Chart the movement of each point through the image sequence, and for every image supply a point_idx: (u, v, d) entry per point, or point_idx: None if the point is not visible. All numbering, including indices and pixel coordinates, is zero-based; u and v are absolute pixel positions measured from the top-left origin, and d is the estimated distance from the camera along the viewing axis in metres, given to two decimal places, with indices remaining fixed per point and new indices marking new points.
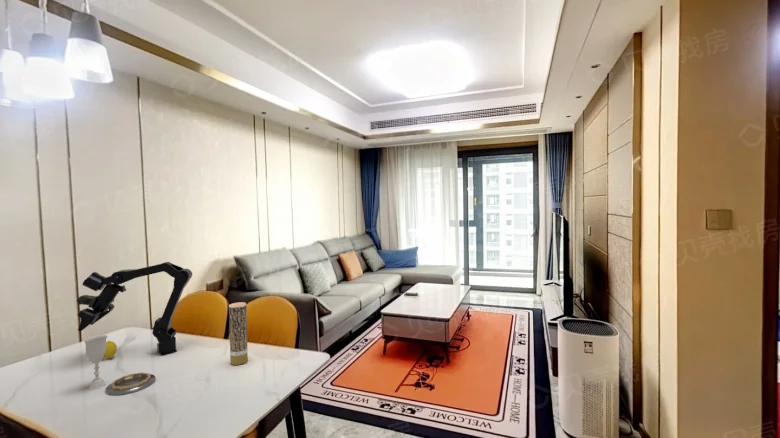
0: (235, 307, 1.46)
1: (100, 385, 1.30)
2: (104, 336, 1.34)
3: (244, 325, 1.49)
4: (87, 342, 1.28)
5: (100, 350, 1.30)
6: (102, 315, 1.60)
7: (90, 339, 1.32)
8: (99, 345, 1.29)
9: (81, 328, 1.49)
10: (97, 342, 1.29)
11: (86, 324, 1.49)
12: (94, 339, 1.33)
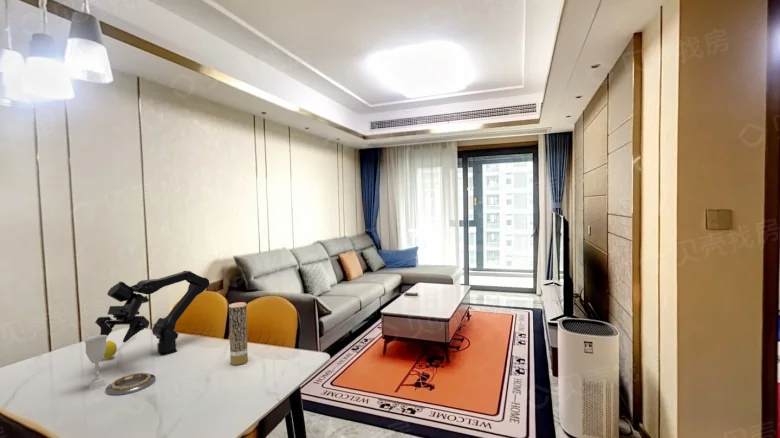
0: (235, 307, 1.46)
1: (100, 385, 1.30)
2: (104, 336, 1.34)
3: (244, 325, 1.49)
4: (87, 342, 1.28)
5: (100, 350, 1.30)
6: (109, 331, 1.44)
7: (90, 339, 1.32)
8: (99, 345, 1.29)
9: (127, 338, 1.40)
10: (98, 342, 1.29)
11: (133, 333, 1.42)
12: (94, 339, 1.33)
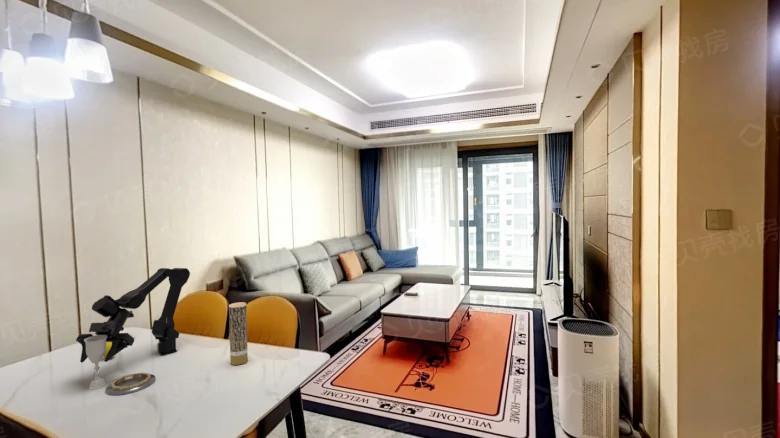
0: (235, 307, 1.46)
1: (100, 385, 1.30)
2: (104, 336, 1.34)
3: (244, 325, 1.49)
4: (87, 342, 1.28)
5: (100, 350, 1.30)
6: None
7: (90, 339, 1.32)
8: (99, 345, 1.29)
9: (109, 357, 1.31)
10: (98, 342, 1.29)
11: (116, 352, 1.33)
12: (94, 339, 1.33)
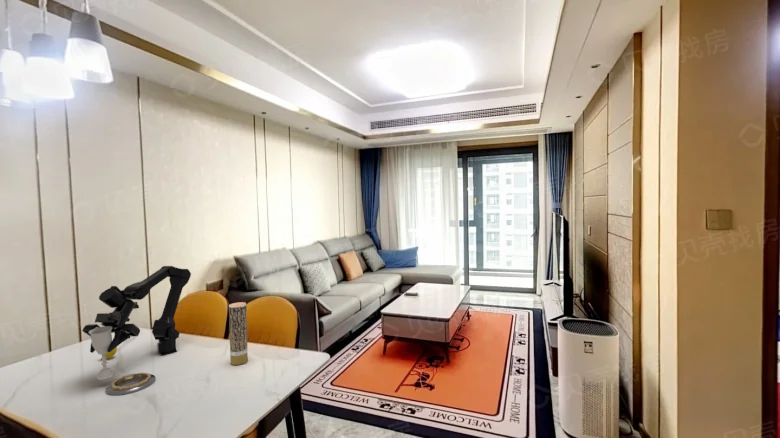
0: (235, 307, 1.46)
1: (108, 375, 1.31)
2: (109, 327, 1.33)
3: (244, 325, 1.49)
4: (92, 334, 1.28)
5: (105, 342, 1.29)
6: None
7: (95, 330, 1.32)
8: (104, 337, 1.29)
9: (112, 348, 1.31)
10: (102, 334, 1.29)
11: (119, 342, 1.33)
12: (100, 330, 1.33)
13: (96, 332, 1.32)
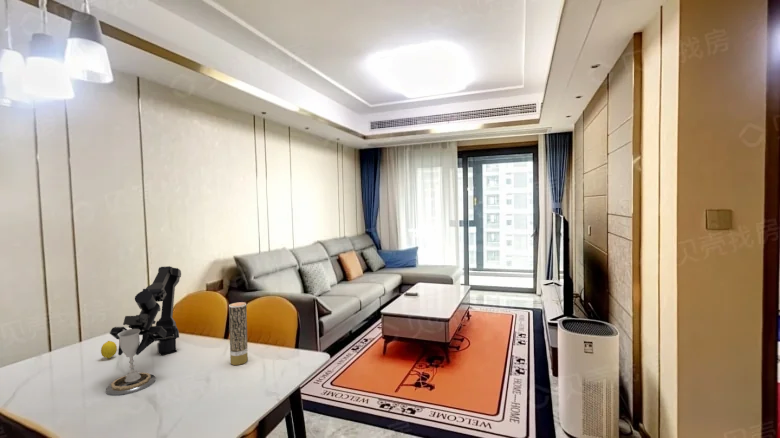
0: (235, 307, 1.46)
1: (136, 378, 1.31)
2: (137, 330, 1.34)
3: (244, 325, 1.49)
4: (121, 337, 1.28)
5: (134, 344, 1.29)
6: None
7: (123, 333, 1.32)
8: (133, 340, 1.29)
9: (140, 350, 1.31)
10: (131, 337, 1.29)
11: (146, 345, 1.34)
12: (127, 333, 1.33)
13: (124, 335, 1.32)
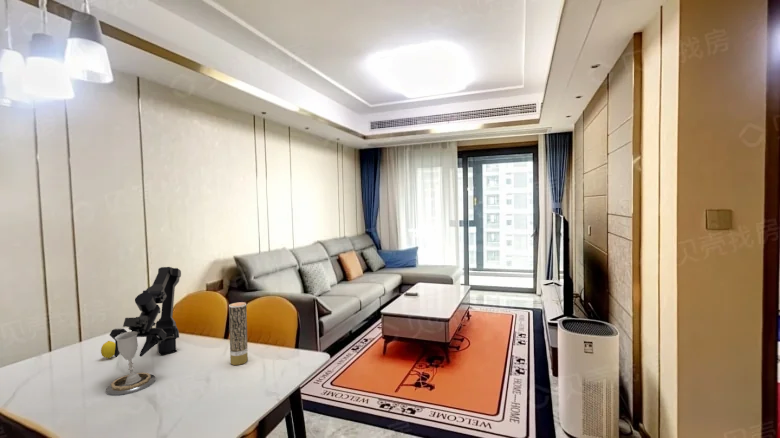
0: (235, 307, 1.46)
1: (136, 380, 1.31)
2: (134, 333, 1.33)
3: (244, 325, 1.49)
4: (118, 340, 1.27)
5: (132, 347, 1.29)
6: None
7: (121, 336, 1.32)
8: (130, 342, 1.29)
9: (144, 352, 1.31)
10: (128, 340, 1.29)
11: (150, 346, 1.33)
12: (125, 336, 1.33)
13: (121, 338, 1.32)
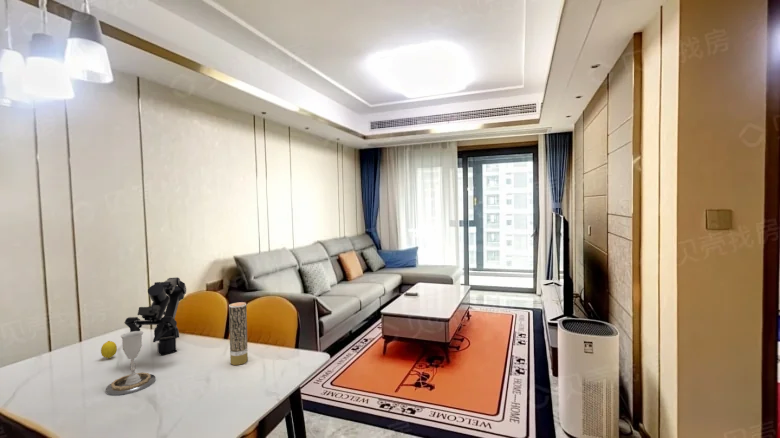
0: (235, 307, 1.46)
1: (136, 381, 1.31)
2: (140, 332, 1.35)
3: (244, 325, 1.49)
4: (124, 338, 1.29)
5: (136, 346, 1.31)
6: None
7: (126, 335, 1.33)
8: (135, 341, 1.30)
9: (157, 338, 1.44)
10: (134, 338, 1.30)
11: (162, 333, 1.46)
12: (130, 335, 1.34)
13: (127, 337, 1.33)
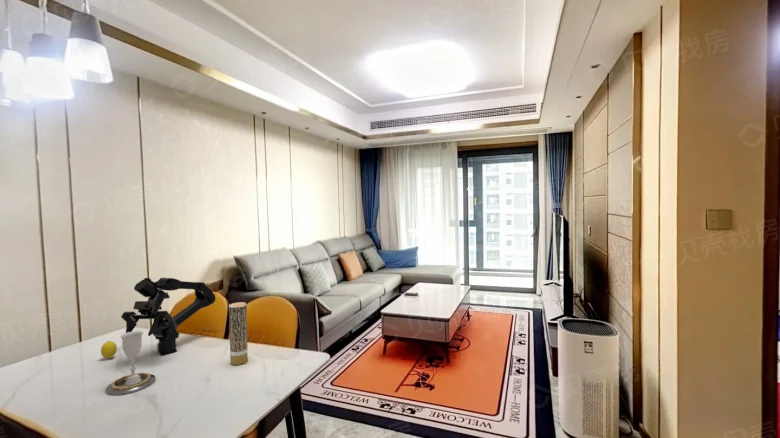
0: (235, 307, 1.46)
1: (136, 381, 1.31)
2: (140, 332, 1.35)
3: (244, 325, 1.49)
4: (124, 338, 1.29)
5: (136, 346, 1.31)
6: (134, 326, 1.51)
7: (126, 335, 1.33)
8: (135, 341, 1.30)
9: (152, 332, 1.47)
10: (134, 338, 1.30)
11: (157, 327, 1.50)
12: (130, 335, 1.34)
13: (127, 337, 1.33)
